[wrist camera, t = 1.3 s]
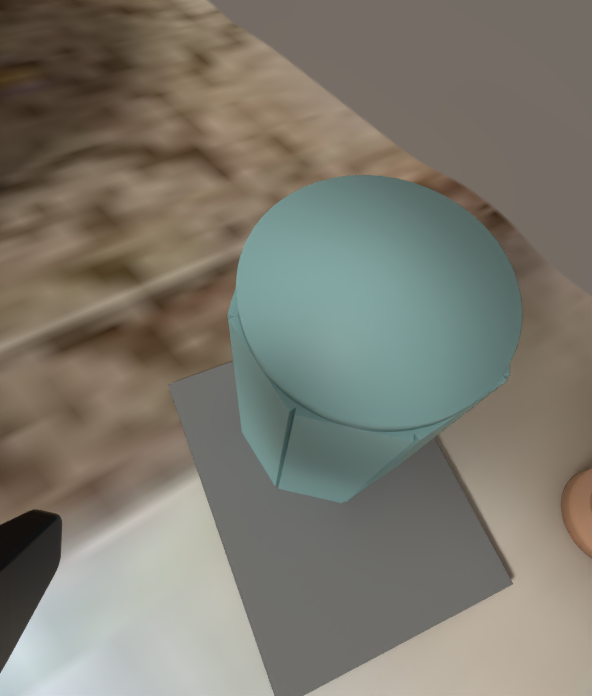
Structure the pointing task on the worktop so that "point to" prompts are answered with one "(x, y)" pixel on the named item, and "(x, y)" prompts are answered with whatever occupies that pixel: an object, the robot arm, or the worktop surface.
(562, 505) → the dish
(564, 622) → the worktop surface
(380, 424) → the teal domed post
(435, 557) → the mat
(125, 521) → the worktop surface
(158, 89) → the worktop surface
